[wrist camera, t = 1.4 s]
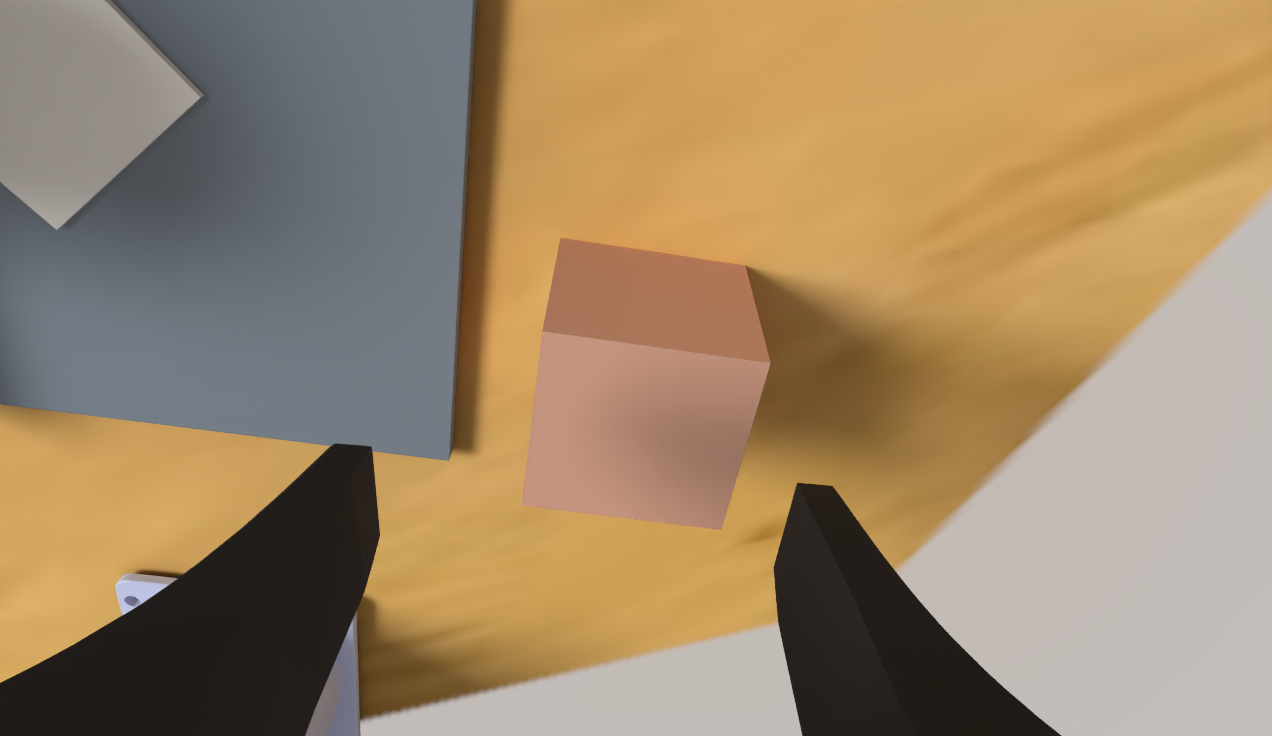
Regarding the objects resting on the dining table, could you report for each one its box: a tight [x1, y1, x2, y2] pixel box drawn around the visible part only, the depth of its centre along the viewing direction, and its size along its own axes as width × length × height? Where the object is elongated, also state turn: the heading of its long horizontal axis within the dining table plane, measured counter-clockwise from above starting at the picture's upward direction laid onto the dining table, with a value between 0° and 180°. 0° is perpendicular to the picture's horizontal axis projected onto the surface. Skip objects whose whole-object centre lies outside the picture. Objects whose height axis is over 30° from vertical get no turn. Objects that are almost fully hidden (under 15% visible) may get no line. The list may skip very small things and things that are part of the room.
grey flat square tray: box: [0, 0, 477, 461], centre depth 19 cm, size 16×16×4 cm
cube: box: [522, 238, 771, 530], centre depth 21 cm, size 5×5×5 cm
